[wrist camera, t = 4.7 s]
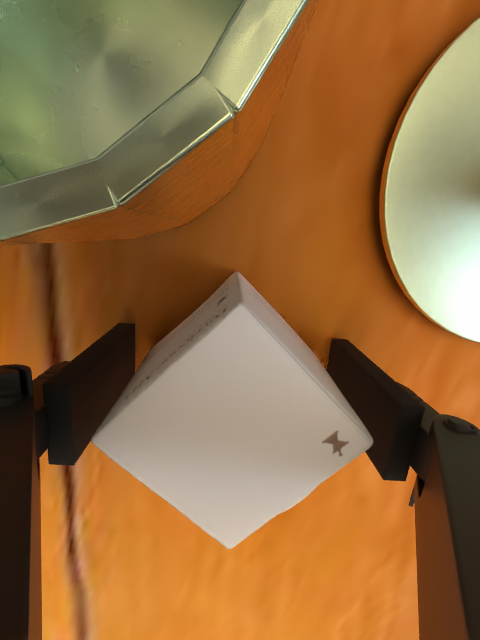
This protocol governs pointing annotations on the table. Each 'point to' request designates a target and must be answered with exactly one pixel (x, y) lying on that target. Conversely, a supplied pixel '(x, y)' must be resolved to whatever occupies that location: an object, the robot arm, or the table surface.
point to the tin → (134, 109)
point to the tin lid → (438, 191)
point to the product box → (232, 417)
